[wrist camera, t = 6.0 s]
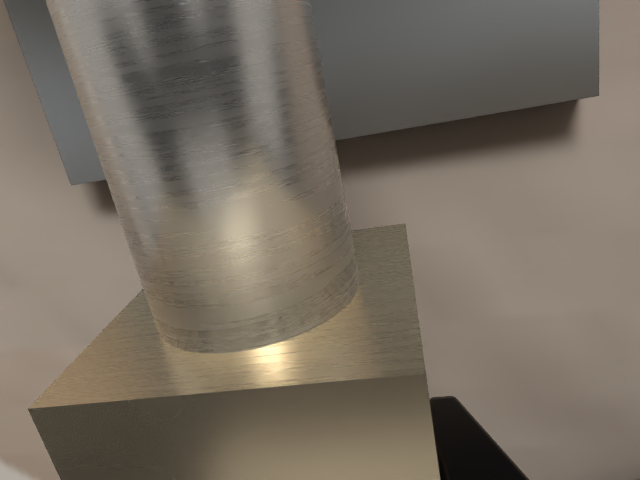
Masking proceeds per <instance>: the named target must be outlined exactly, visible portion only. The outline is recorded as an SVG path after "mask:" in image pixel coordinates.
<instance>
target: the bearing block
mask: <svg viewBox="0 0 640 480" xmlns="http://www.w3.org/2000/svg"><path fill="white" fill-rule="evenodd" d="M310 1H311V7H312V13H313V18H314V24H315V30H316V35H317V41H318V47H319V52H320V58H321V64H322V69H323V75H324V81H325V86H326V92H327V98H328V103H329V109H330V115H331V120H332V126H333V132H334V137H335V141H336V140H342V139H348V138H353V137H359V136H365V135H371V134H377V133H383V132H389V131H395V130H400V129H406V128H412V127H418V126H424V125H430V124H436V123H442V122H447V121H453V120H459V119H465V118H471V117H477V116H483V115H489V114H495V113H500V112H506V111H512V110H518V109H524V108H530V107H536V106H542V105H547V104H553V103H559V102H565V101H571V100H577V99H583V98H589V97H595V96H599V0H310ZM4 3H5V6H6V8H7V11H8V14H9V17H10V19H11V22H12V25H13V28H14V30H15V33H16V36H17V39H18V41H19V44H20V47H21V50H22V52H23V55H24V58H25V60H26V63H27V66H28V69H29V71H30V74H31V77H32V80H33V82H34V85H35V88H36V91H37V93H38V96H39V99H40V102H41V104H42V107H43V110H44V112H45V115H46V118H47V121H48V123H49V126H50V129H51V132H52V134H53V137H54V140H55V143H56V145H57V148H58V151H59V154H60V156H61V159H62V162H63V164H64V167H65V170H66V173H67V175H68V178H69V181H70V184H71V185H77V184H83V183H89V182H95V181H100V180H106V177H105V174H104V172H103V169H102V166H101V163H100V160H99V157H98V154H97V151H96V148H95V145H94V142H93V139H92V136H91V133H90V130H89V127H88V124H87V122H86V119H85V116H84V113H83V110H82V107H81V104H80V101H79V98H78V95H77V92H76V89H75V86H74V83H73V80H72V77H71V74H70V71H69V69H68V66H67V63H66V60H65V57H64V54H63V51H62V48H61V45H60V42H59V39H58V36H57V33H56V30H55V27H54V24H53V21H52V18H51V16H50V13H49V10H48V7H47V4H46V1H45V0H4Z"/></svg>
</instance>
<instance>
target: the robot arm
mask: <svg viewBox="0 0 640 480" xmlns="http://www.w3.org/2000/svg"><path fill="white" fill-rule="evenodd" d="M429 401H430V408H431V415H432V422H433V430H434V437H435V444H436V452H437V459H438V466H439V473H440V480H529V479H528V478H527V477H526V476H525V474H524V473H523V472H522V471H521V470H520V469H519V468H518V467H517V465H516V464H515V463H514V462H513V461H512V460H511V459H510V458H509V457H508V455H507V454H506V453H505V452H504V451H503V450H502V449H501V448H500V446H499V445H498V444H497V443H496V442H495V441H494V440H493V439H492V438H491V436H490V435H489V434H488V433H487V432H486V431H485V430H484V429H483V427H482V426H481V425H480V424H479V423H478V422H477V421H476V420H475V419H474V417H473V416H472V415H471V414H470V413H469V412H468V411H467V410H466V408H465V407H464V406H463V405H462V404H461V403H460V402H459V401H458V400H457V399H456V398H455V397H453V396H445V397H433V398H431V399H430V400H429Z"/></svg>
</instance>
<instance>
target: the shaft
mask: <svg viewBox="0 0 640 480" xmlns="http://www.w3.org/2000/svg"><path fill="white" fill-rule="evenodd" d="M45 1H46V4H47V7H48V10H49V13H50V16H51V18H52V21H53V24H54V27H55V30H56V33H57V36H58V39H59V42H60V45H61V48H62V51H63V54H64V57H65V60H66V63H67V66H68V69H69V71H70V74H71V77H72V80H73V83H74V86H75V89H76V92H77V95H78V98H79V101H80V104H81V107H82V110H83V113H84V116H85V119H86V122H87V124H88V127H89V130H90V133H91V136H92V139H93V142H94V145H95V148H96V151H97V154H98V157H99V160H100V163H101V166H102V169H103V172H104V174H105V177H106V180H107V183H108V186H109V189H110V192H111V195H112V198H113V201H114V204H115V207H116V210H117V213H118V216H119V219H120V222H121V225H122V227H123V230H124V233H125V236H126V239H127V242H128V245H129V248H130V251H131V254H132V257H133V260H134V263H135V266H136V269H137V272H138V275H139V278H140V280H141V283H142V286H143V289H142V290H141V291H140V292H139V293H138V294H137V296H136V297H135V298H134V299H133V300H132V301H131V302H130V303H129V304H128V305H127V306H126V307H125V308H124V309H123V310H122V311H121V312H120V313H119V314H118V315H117V316H116V317H115V318H114V320H113V321H112V322H111V323H110V324H109V325H108V326H107V327H106V328H105V329H104V330H103V331H102V332H101V333H100V334H99V335H98V336H97V337H96V338H95V339H94V340H93V341H92V342H91V343H90V345H89V346H88V347H87V348H86V349H85V350H84V351H83V352H82V353H81V354H80V355H79V356H78V357H77V358H76V359H75V360H74V361H73V362H72V363H71V364H70V365H69V366H68V367H67V369H66V370H65V371H64V372H63V373H62V374H61V375H60V376H59V377H58V378H57V379H56V380H55V381H54V382H53V383H52V384H51V385H50V386H49V387H48V388H47V389H46V390H45V391H44V393H43V394H42V395H41V396H40V397H39V398H38V399H37V400H36V401H35V402H34V403H33V404H32V405H31V406H30V407H29V408H28V410H29V412H30V415H31V417H32V419H33V421H34V423H35V425H36V427H37V430H38V432H39V434H40V436H41V438H42V440H43V442H44V444H45V447H46V449H47V451H48V453H49V455H50V457H51V459H52V462H53V464H54V466H55V468H56V470H57V472H58V474H59V477H60V479H61V480H440V473H439V466H438V459H437V452H436V444H435V437H434V430H433V422H432V415H431V408H430V401H429V393H428V386H427V379H426V371H425V364H424V357H423V350H422V342H421V335H420V328H419V321H418V313H417V306H416V299H415V292H414V284H413V277H412V270H411V263H410V255H409V248H408V241H407V234H406V226H405V224H398V225H391V226H384V227H377V228H370V229H362V230H355V231H351V228H350V222H349V216H348V211H347V205H346V199H345V194H344V188H343V182H342V177H341V171H340V166H339V160H338V154H337V149H336V143H335V137H334V132H333V126H332V120H331V115H330V109H329V103H328V98H327V92H326V86H325V81H324V75H323V69H322V64H321V58H320V52H319V47H318V41H317V35H316V30H315V24H314V18H313V13H312V7H311V1H310V0H45Z"/></svg>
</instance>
